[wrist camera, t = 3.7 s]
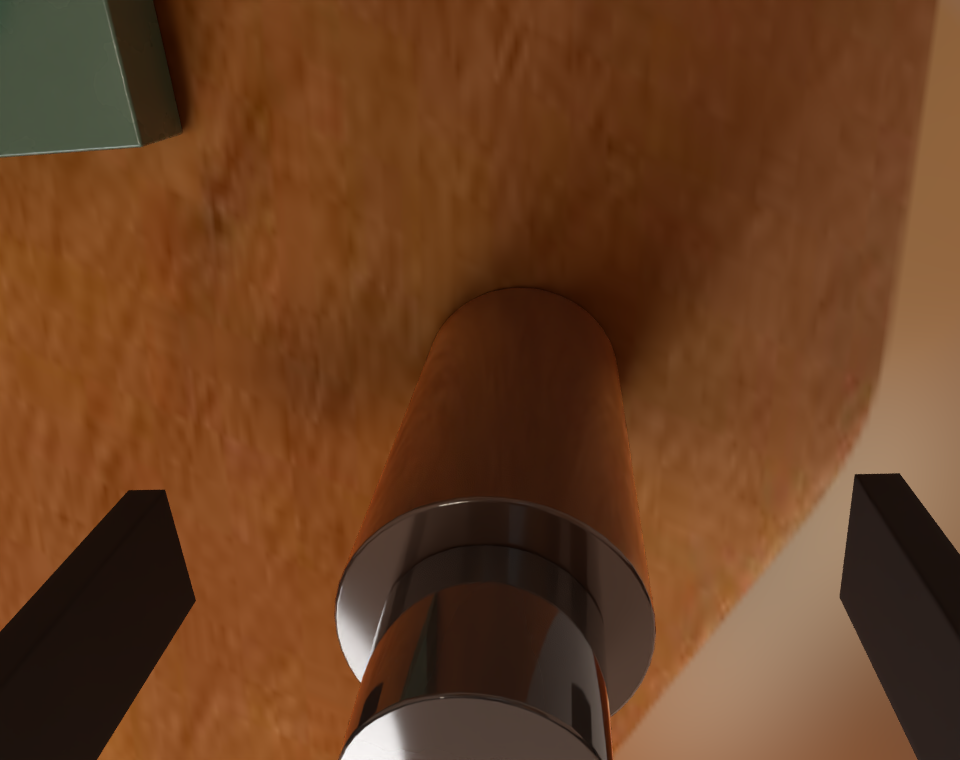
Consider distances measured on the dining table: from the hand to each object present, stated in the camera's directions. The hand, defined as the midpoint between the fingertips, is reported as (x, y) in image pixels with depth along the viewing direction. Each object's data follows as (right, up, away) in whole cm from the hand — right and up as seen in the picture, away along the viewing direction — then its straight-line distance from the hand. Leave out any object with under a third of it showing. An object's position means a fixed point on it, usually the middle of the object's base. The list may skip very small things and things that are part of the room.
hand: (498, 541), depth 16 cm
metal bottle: (+1, +3, +6) cm, 7 cm away
